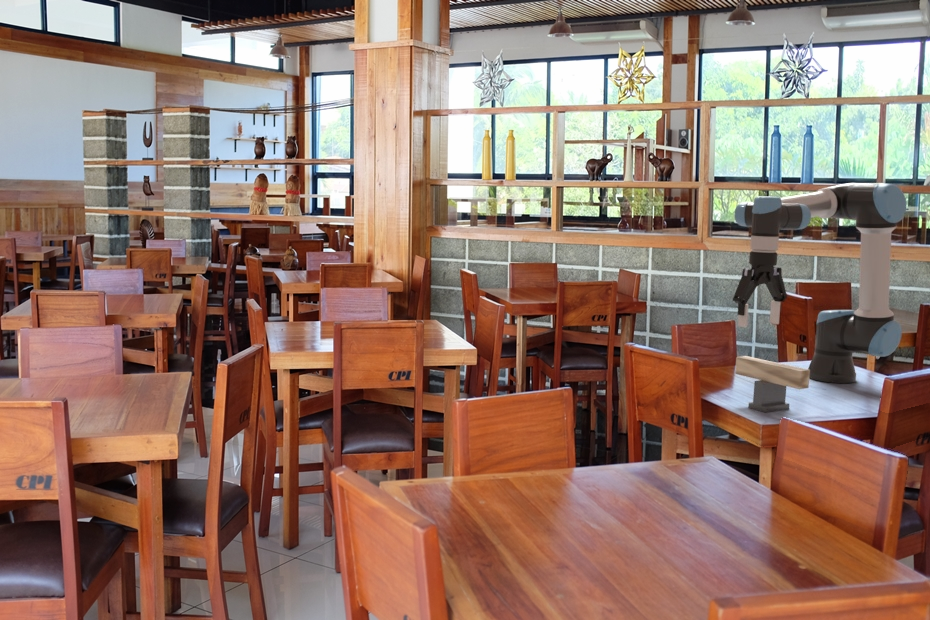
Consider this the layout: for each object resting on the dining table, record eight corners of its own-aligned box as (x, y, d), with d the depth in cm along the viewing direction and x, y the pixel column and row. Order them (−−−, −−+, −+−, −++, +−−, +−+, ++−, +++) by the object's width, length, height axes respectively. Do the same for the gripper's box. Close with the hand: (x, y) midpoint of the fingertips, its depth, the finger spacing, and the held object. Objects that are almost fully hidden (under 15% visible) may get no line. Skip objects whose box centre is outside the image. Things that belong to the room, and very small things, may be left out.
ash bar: (744, 372, 267) (745, 355, 266) (808, 387, 248) (810, 369, 248) (735, 373, 264) (736, 356, 264) (799, 389, 246) (800, 371, 245)
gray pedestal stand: (771, 404, 263) (774, 376, 262) (789, 408, 258) (791, 381, 257) (748, 407, 257) (750, 380, 256) (765, 412, 252) (767, 384, 251)
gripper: (781, 249, 267) (776, 320, 270) (723, 251, 254) (718, 326, 257) (803, 251, 261) (797, 324, 264) (744, 253, 247) (739, 330, 250)
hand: (758, 325), depth 260 cm, fingers open, 13 cm apart
